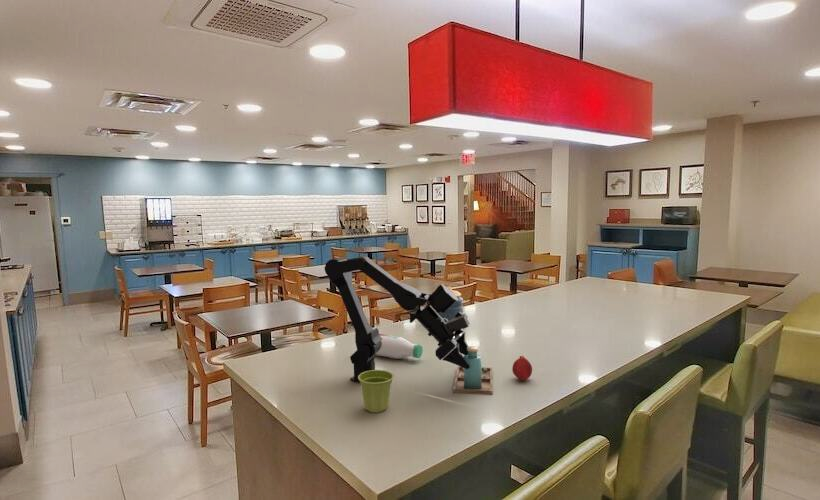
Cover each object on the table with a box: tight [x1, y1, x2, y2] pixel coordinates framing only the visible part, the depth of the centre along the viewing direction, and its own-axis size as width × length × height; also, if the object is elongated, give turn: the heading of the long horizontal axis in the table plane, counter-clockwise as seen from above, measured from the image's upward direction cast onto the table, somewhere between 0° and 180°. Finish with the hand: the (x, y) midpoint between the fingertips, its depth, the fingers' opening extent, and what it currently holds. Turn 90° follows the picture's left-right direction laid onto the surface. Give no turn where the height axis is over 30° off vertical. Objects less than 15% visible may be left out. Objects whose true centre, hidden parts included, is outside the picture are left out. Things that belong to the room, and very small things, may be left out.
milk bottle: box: [375, 333, 424, 360], centre depth 157 cm, size 8×8×20 cm
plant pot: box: [358, 369, 395, 413], centre depth 116 cm, size 9×9×9 cm
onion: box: [511, 354, 533, 381], centre depth 133 cm, size 6×6×8 cm
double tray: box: [452, 365, 494, 395], centre depth 133 cm, size 19×11×2 cm, turn 170°
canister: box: [437, 286, 464, 321], centre depth 203 cm, size 13×13×18 cm
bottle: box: [463, 345, 483, 390], centre depth 128 cm, size 5×5×12 cm
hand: (470, 362), depth 128 cm, fingers open, 9 cm apart
